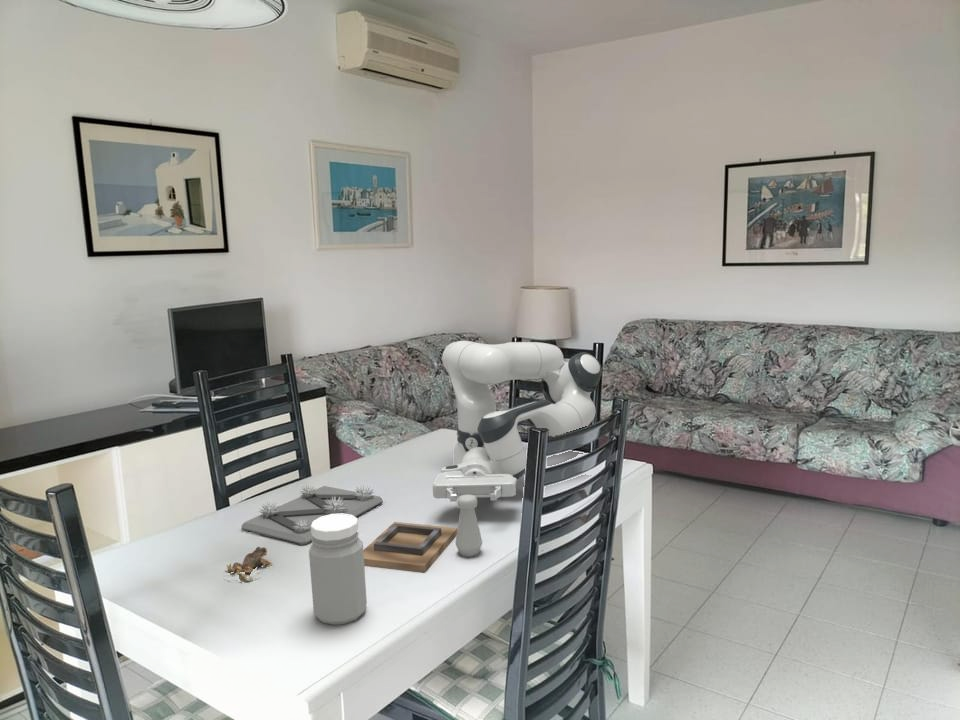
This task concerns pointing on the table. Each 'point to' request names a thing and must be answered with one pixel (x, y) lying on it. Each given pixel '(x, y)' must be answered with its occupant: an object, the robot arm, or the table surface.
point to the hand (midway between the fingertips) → (473, 498)
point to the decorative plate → (309, 512)
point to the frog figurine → (250, 565)
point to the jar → (337, 569)
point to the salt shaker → (468, 527)
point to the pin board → (408, 546)
